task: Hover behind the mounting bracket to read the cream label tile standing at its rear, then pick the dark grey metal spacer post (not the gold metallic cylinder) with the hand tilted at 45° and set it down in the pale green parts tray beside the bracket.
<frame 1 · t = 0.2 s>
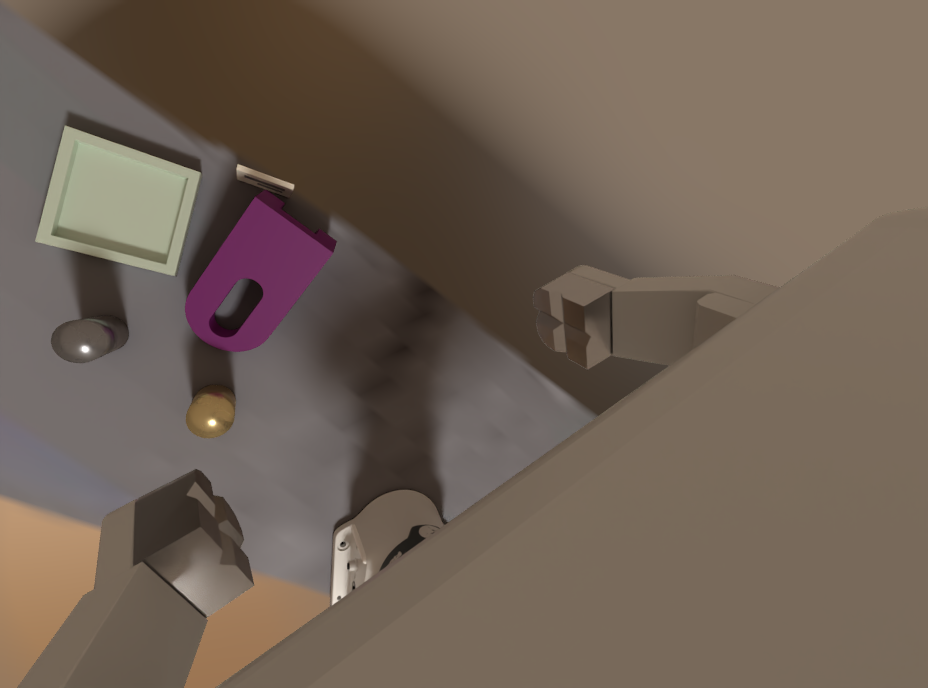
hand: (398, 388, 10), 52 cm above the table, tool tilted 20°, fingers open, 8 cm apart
mounting bracket: (256, 280, 55), on the table
parts tray: (126, 207, 49), on the table
gold metallic cylinder: (214, 403, 54), on the table
label tile: (264, 186, 54), on the table
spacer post: (106, 333, 49), on the table
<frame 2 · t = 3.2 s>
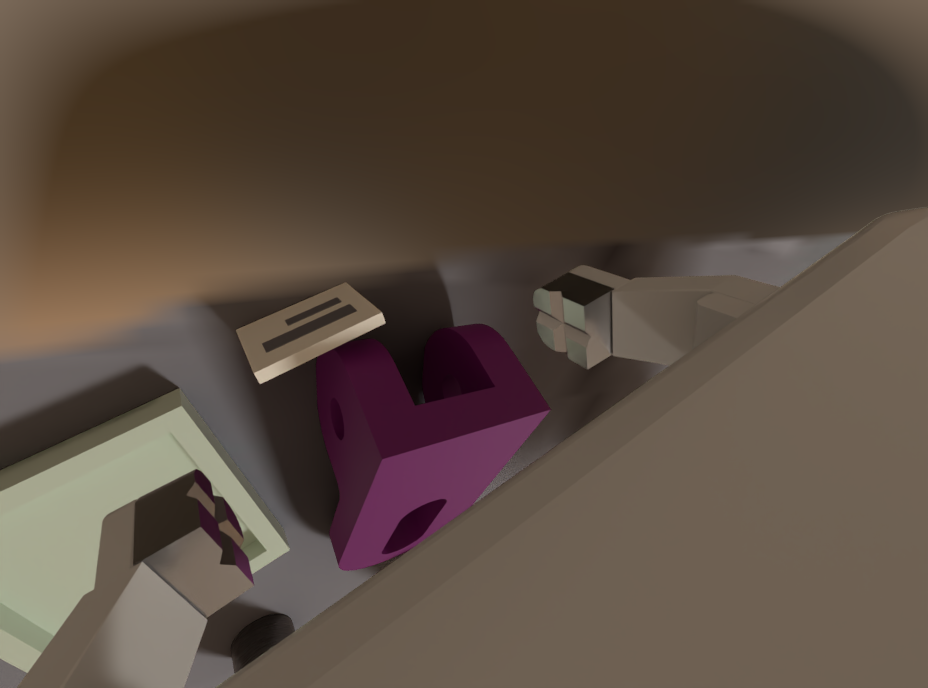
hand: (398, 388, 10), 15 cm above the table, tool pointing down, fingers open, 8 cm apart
mounting bracket: (386, 438, 31), on the table
parts tray: (121, 531, 23), on the table
label tile: (295, 309, 23), on the table
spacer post: (262, 637, 31), on the table
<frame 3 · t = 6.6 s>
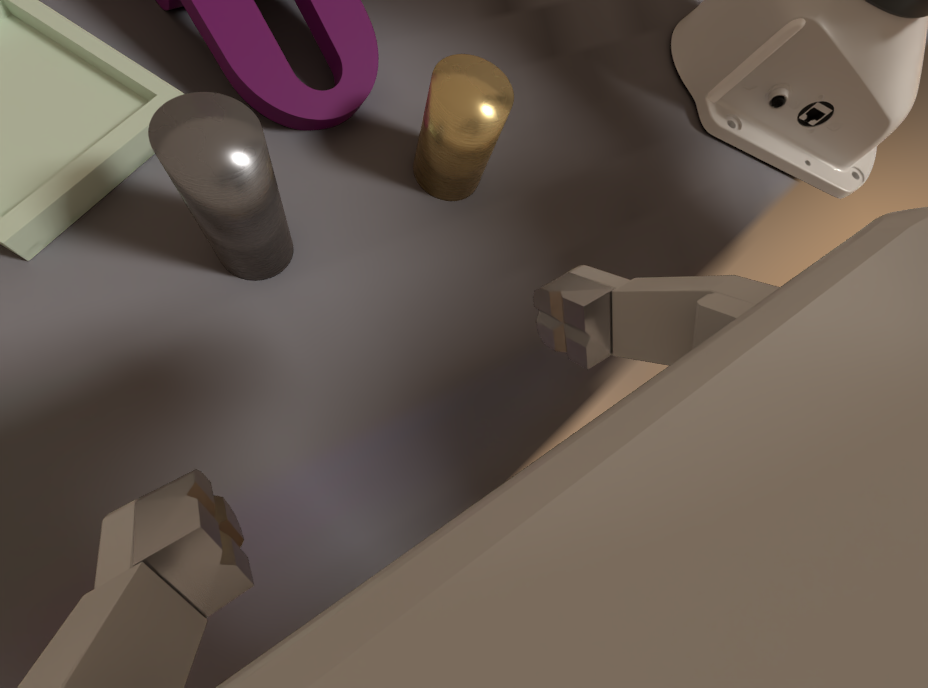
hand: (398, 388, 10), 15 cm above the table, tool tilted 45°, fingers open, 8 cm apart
mounting bracket: (264, 38, 31), on the table
parts tray: (22, 123, 24), on the table
gold metallic cylinder: (446, 172, 30), on the table
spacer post: (256, 248, 25), on the table
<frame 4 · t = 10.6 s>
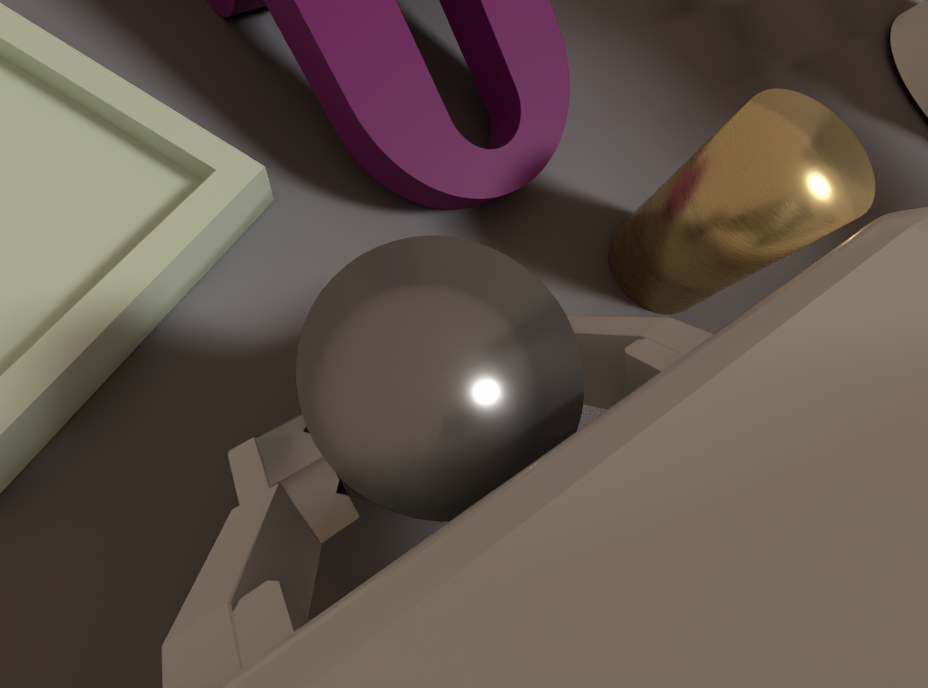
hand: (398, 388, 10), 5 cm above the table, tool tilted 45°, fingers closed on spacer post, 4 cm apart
mounting bracket: (372, 59, 20), on the table
gold metallic cylinder: (656, 264, 19), on the table
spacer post: (392, 436, 14), on the table, touching gripper
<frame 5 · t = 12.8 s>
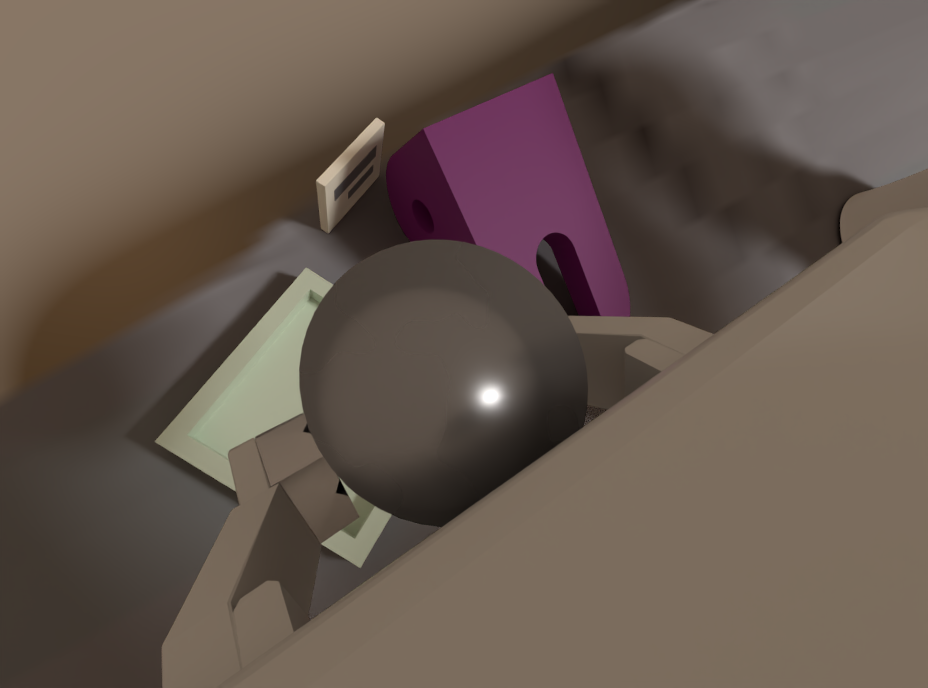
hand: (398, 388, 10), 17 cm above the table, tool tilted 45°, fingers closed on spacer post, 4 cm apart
mounting bracket: (508, 278, 32), on the table
parts tray: (332, 410, 26), on the table
label tile: (351, 201, 31), on the table
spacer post: (394, 438, 14), point 12 cm above the table, touching gripper
when the fingers open (7 cm above the table, at t = 15.4 s): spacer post drops 1 cm, resting on parts tray.
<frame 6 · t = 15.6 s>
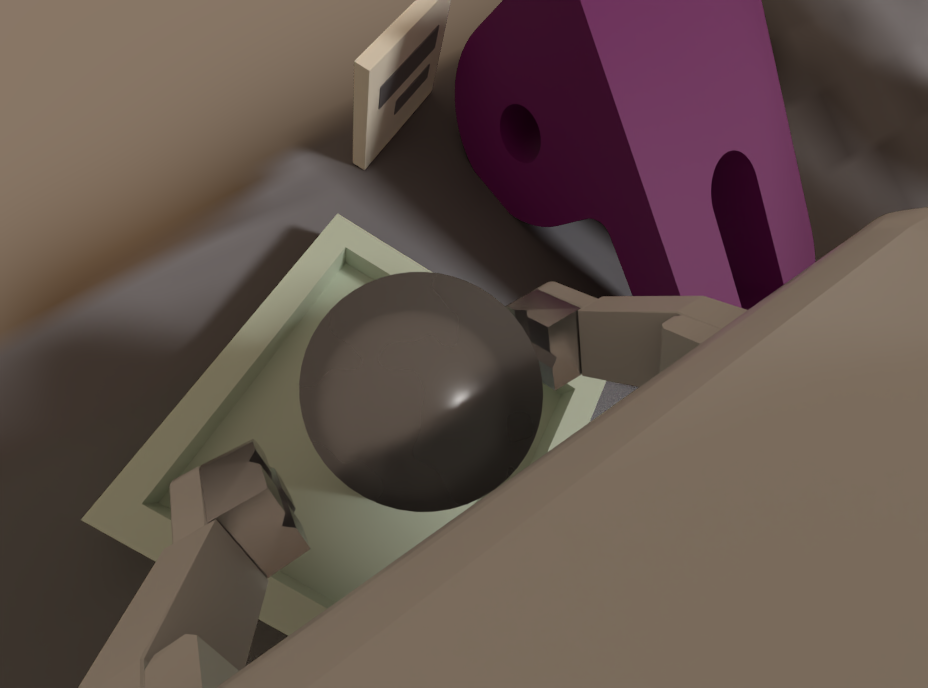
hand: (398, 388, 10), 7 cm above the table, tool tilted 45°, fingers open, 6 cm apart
mounting bracket: (622, 237, 22), on the table
parts tray: (386, 442, 16), on the table
label tile: (394, 124, 21), on the table
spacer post: (392, 440, 16), point 1 cm above the table, touching parts tray
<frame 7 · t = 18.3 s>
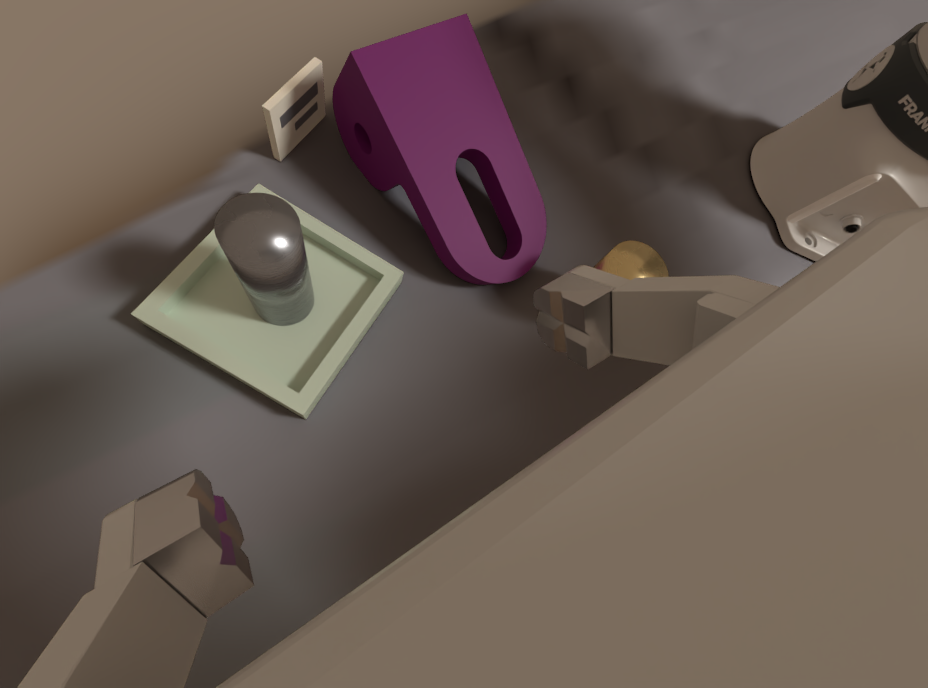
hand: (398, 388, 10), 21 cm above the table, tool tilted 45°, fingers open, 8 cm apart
mounting bracket: (445, 202, 37), on the table
parts tray: (283, 302, 31), on the table
gold metallic cylinder: (589, 308, 37), on the table
label tile: (300, 135, 35), on the table
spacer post: (283, 298, 30), point 1 cm above the table, touching parts tray
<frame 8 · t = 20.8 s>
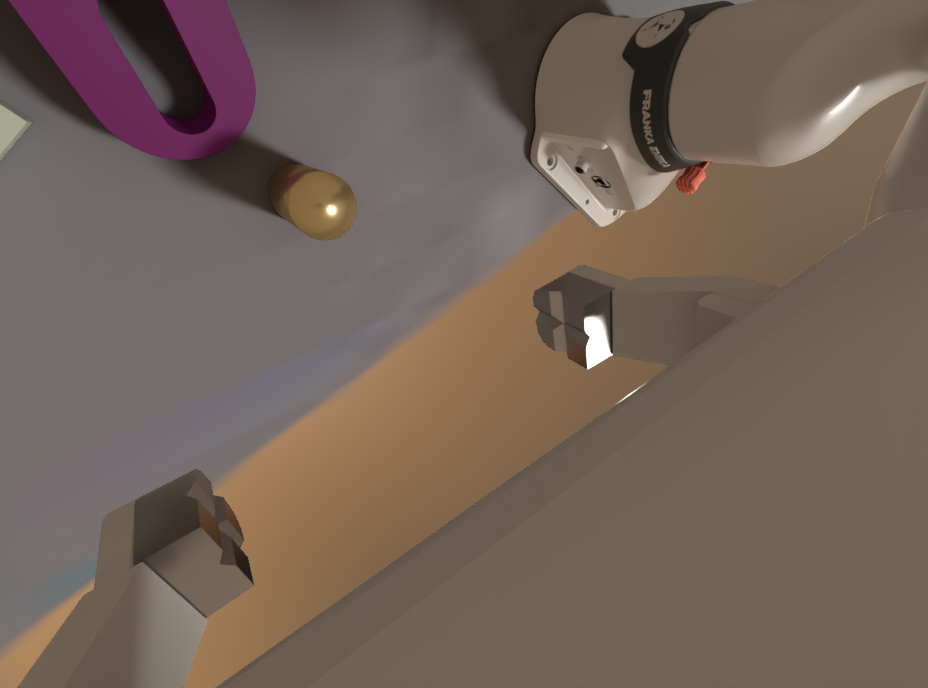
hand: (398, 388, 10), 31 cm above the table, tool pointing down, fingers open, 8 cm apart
gold metallic cylinder: (298, 194, 36), on the table
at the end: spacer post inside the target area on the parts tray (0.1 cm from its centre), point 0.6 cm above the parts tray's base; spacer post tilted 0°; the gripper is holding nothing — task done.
